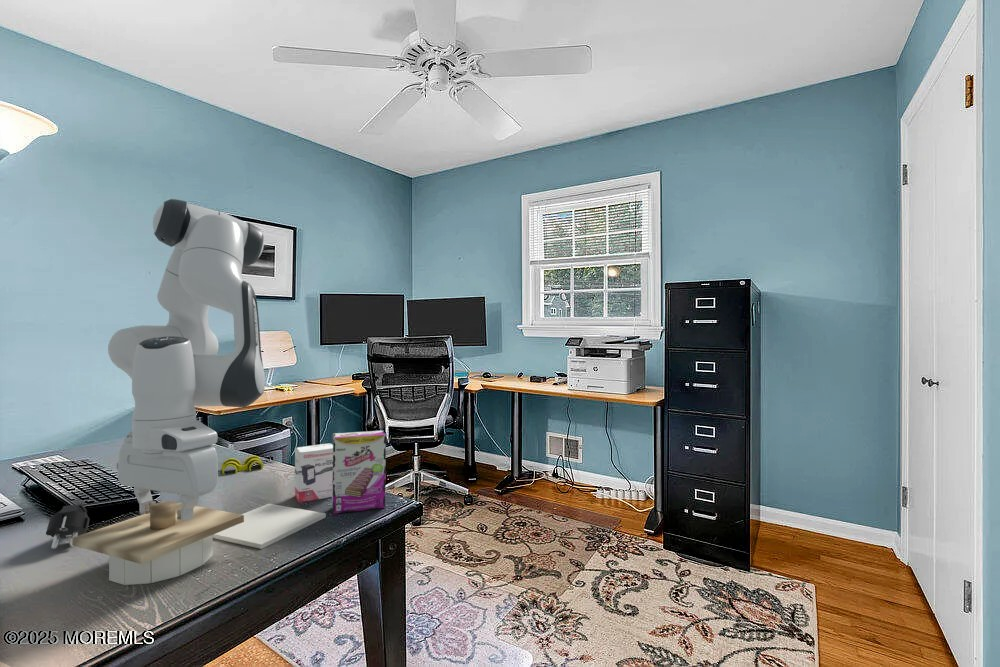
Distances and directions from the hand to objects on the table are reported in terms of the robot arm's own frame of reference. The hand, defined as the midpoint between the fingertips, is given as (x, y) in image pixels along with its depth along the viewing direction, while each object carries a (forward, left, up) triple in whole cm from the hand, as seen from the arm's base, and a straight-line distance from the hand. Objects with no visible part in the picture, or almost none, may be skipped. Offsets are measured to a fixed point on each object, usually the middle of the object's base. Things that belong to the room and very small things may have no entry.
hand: (166, 516), depth 81 cm
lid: (0, 0, -3) cm, 3 cm away
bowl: (0, 0, -8) cm, 8 cm away
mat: (+3, +18, -8) cm, 20 cm away
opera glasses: (-32, +41, -8) cm, 52 cm away
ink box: (0, +35, -8) cm, 36 cm away
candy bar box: (+14, +33, -8) cm, 36 cm away
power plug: (-28, +3, -10) cm, 30 cm away
